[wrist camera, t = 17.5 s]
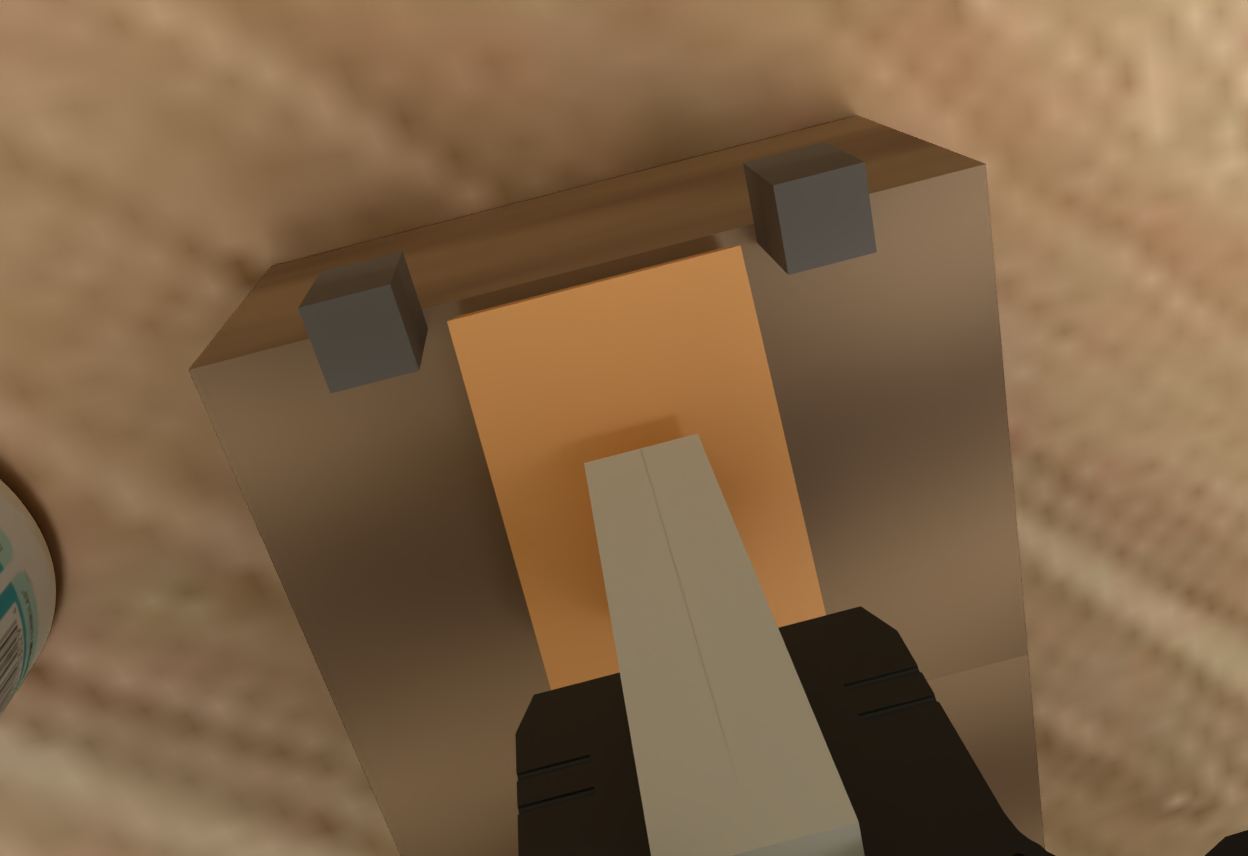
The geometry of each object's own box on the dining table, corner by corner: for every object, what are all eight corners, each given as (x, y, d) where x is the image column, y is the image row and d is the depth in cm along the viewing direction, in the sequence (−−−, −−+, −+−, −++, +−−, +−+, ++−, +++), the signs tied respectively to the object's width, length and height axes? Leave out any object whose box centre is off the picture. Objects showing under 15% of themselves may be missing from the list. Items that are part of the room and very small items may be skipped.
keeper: (456, 316, 15) (447, 320, 14) (727, 246, 15) (740, 245, 14) (564, 698, 16) (563, 733, 15) (817, 632, 16) (837, 662, 15)
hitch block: (940, 731, 27) (1096, 998, 20) (494, 848, 27) (493, 1157, 20) (850, 68, 20) (1040, 116, 13) (254, 222, 20) (120, 353, 13)
